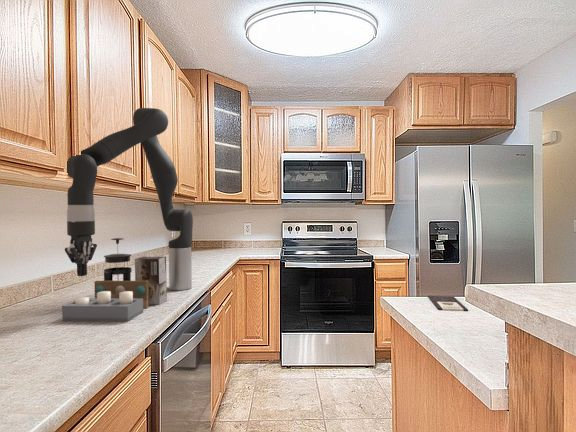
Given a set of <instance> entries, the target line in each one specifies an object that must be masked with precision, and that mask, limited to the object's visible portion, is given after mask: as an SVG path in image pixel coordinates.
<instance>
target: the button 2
mask: <svg viewBox="0 0 576 432" xmlns="http://www.w3.org/2000/svg"><path fill="white" fill-rule="evenodd" d="M110 302H111V291H101V292H98V293H97V304H108V303H110Z"/></svg>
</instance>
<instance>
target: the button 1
mask: <svg viewBox="0 0 576 432" xmlns="http://www.w3.org/2000/svg"><path fill="white" fill-rule="evenodd" d="M89 298H90V297H88V296H82V297H76V298H75V299H74V301H75V304H86V303H88V302H89Z"/></svg>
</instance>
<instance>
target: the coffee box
mask: <svg viewBox="0 0 576 432" xmlns="http://www.w3.org/2000/svg"><path fill="white" fill-rule="evenodd" d="M134 281H148V305H161V304H163V303H165V302H167V300H168V295H167V294H168V293H167V291H168V290H167V289H168V287H167V256H141V257H137V258H135V259H134Z"/></svg>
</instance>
